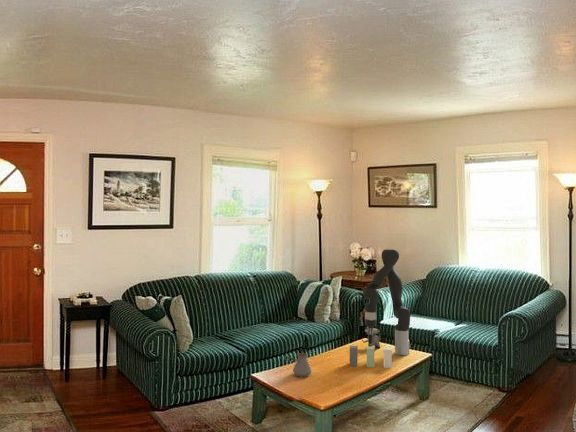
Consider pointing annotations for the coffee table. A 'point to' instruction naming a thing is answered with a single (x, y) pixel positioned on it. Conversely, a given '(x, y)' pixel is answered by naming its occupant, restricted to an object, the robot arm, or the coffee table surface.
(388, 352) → the off white pillar
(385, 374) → the coffee table surface
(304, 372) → the coffee pot
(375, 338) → the figurine
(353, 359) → the slate grey pillar
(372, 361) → the sage green pillar
